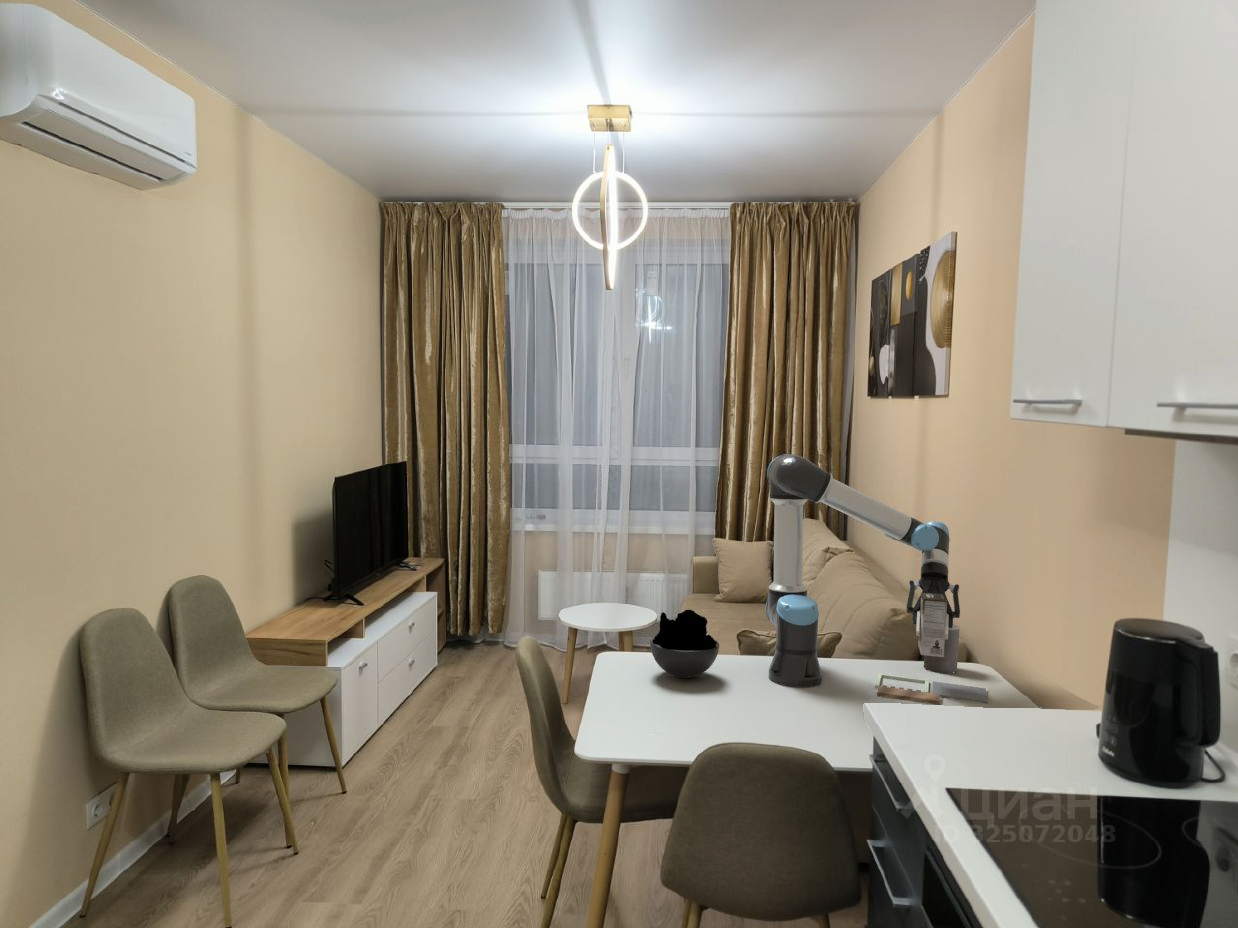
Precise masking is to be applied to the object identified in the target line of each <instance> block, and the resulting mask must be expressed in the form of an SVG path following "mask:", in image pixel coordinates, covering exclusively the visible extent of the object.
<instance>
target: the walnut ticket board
mask: <svg viewBox="0 0 1238 928" xmlns="http://www.w3.org/2000/svg"><path fill="white" fill-rule="evenodd" d="M876 696H877V697H881V698H890V699H891V698H892V699H896V700H902V701H904V700H905V701H910V702H917V703H918V702H919V703H925V704H931V705H938V704H939V705H938V706H940V705H941V697H940V694H934V693H932V692H928V693H926V692H924V691H921V692H919V691H916V690H913V689H912V690H908V689H905V688H904V689H899V687H898V688H897V687H895V688H891V686H890V687H889V686H887V687H883V686H882V685H880V686H878V688H877V690H876Z"/></svg>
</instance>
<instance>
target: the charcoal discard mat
mask: <svg viewBox="0 0 1238 928" xmlns="http://www.w3.org/2000/svg"><path fill="white" fill-rule="evenodd" d="M931 687H932V688H931V693H934V694H940V698H944V699H945V698H946V699H953V700H959V701H965V702H974V703H975V702H976V703H979V704H980V703H981V704H988V703H989V702H988V701H989V700H988V694H987V689H986V687H979V686H971V685H963V684H956V683H948V682H941V681H940V682H939V681H932V686H931Z"/></svg>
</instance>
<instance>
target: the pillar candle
mask: <svg viewBox="0 0 1238 928" xmlns="http://www.w3.org/2000/svg"><path fill="white" fill-rule="evenodd" d="M960 629H961V628H960V625H959V626H958V625H957V624H954V623H953V627H952V628H948V640H947V639H945V646H944V657H937V656H926V655H923V657H924V658H923V668H924V669H925V670H927V671H929V670H930V672H933V671H934V672H933V673H938V672H939V673H938V674H948V673H949V674H954V673H953V672H955V673H957V672H956V671H958V659H959V658H958V657H959V645H960V644H959V643H960V642H959V641H960Z"/></svg>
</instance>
